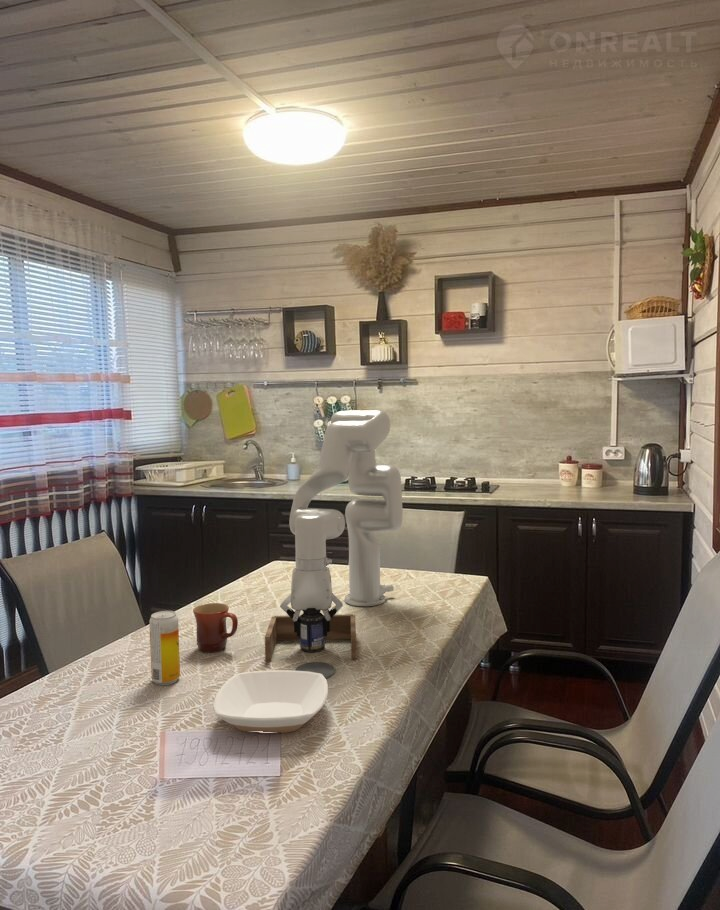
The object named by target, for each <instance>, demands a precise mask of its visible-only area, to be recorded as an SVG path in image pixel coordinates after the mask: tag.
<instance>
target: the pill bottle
mask: <svg viewBox="0 0 720 910" xmlns="http://www.w3.org/2000/svg"><path fill="white" fill-rule="evenodd" d="M301 612H303V613H302V614H301V616H300V639H299V641H300V645H299V646H300V649H301V651H303V652H305V653H307V652H308V653H316V652H320V651H323V650H324V649H325V647H326V639H325V636H324V616H323V615H324V614H323V612H322V610H316V608H307V609H306V610H301Z"/></svg>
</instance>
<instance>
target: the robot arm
mask: <svg viewBox="0 0 720 910" xmlns="http://www.w3.org/2000/svg"><path fill="white" fill-rule="evenodd" d="M390 420H391V419H390V416H389V415H388V414H387V412H386V411H383V410H380V409H379V410H374V409H373V410H371V409H370V410H365V409H364V410H362V409H361V410H357V409H356V410H353V409H351V410H350V409H349V410H339V411H336V412H334V413H332V415H331V418H330V424H328V425H327V427H326V430H325V431H324V438H323V440H322V441H323V443H322V445H321V446H322V447H321V452H320V455H319V460H318V465H317V468H316V470H315V472H313V473H312V474H311V475H310V476H308V477H307V478H306V479H305V481H304V482H302V484H301V485H300V486H299V487H298V489H297V491H296V493H295V495H294V497H293V500H292V505H291V509H290V512H289V529H290V532H291V533H292V534H293V535H295V536H294V539H295V542H294V545H295V547H294V548H295V549H294V550H295V567H294V568H293V570H292V575H291V583H290V584H291V586H290V587H291V588H290V594H289V595H288V596H287V597H286V598H285V599H284V600H283V601H282V602H281V603H280V606H279V607H280V608H281V610H283V612H285V613H286V614H287V616H290V617H291V618H292V619H293V621H294V633H297V637H299V636H300V617H299V615H300V614H301V612H302V610H306V609H307V608H316V610H321V612H322V614H323V615H324V616H325V618H324V636H327V632H330V619H331V618H332V617H333V616H334V615H337V613H338V611H340V609H341V608H343V606H344V604H343V603H344V602H345V603H346V604H348V605H351V606H354V607H355V606H356V607H374V606H378V605H381V604H384V603H385V602H386V595H384V594H386V593H387V592H388V593H389V592H394V589H395V587H394V585H393V584H389V585H386V584H381V552H380V551H381V546H380V542H379V539H378V537H377V536H376V534H375V533H374V532H390V533H391V532H393V533H394V532H397V531H399V530H400V529H401V527H402V524H403V519H404V515H403V509H404V508H403V491H402V489H403V488H402V477H401V473H400V470H399V469H398V467H396V466H394V465H392V464H378V463H377V462H376V449H378V447H380V445H381V444H382V443H383V442H384V441H385V440H386V439H387V438H388V436H389V433H390V429H391V421H390ZM347 479H348V480H347ZM346 480H347V481H348V487H349V490H350V492H351V493H352V494H353V495H356V496H365V497H383V499H375V498H358V499H357V498H356V499H353V500H351V501H349V502H348V503H347V504H346V506H345V510H344V511H345V513H344V514H345V516H344V514H343V513H342V512H341V511H340V510H338V509H333V508H316V507H308V506H309V504H310V503H311V501H312V500H313V499H314V498H315V496H317V495H319V494H320V493H321V492H323V491H325V490H328V489H330V488H332V487H334V486H337V485H340V484H342V483H343V482H345V481H346ZM345 527H347V537H348V564H349V565H348V569H349V571H348V574H349V579H348V580H349V585H348V586H349V593H347V594H346V595H345V596H344V602H342V601H341V600H340V599H339V597H337V596H336V595H335V594H334V593H333V588H332V587H333V585H332V575H331V570H330V568H329V567H328V566H329V565H332V564H333V559H332V558H328V557H327V547H326V546H327V543H326V542H327V540H332V539H336V538H338V537H340V536H341V535H342V534H343V532H344V530H345ZM332 603H334V604H335V605H334V607H332ZM289 605H290V606H291V607H289Z"/></svg>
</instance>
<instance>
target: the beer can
mask: <svg viewBox="0 0 720 910" xmlns="http://www.w3.org/2000/svg"><path fill="white" fill-rule="evenodd" d="M179 632H180V631H179V616H178V615H177V613H176V611H173V610H160V611H156V612H154V613H152V614H151V615H150V619H149V642H150V644H149V645H150V647H149V648H150V669H151V671H150V673H151V675H150V676H151V681H152V682H154V684H155V685H159V686H167V685H172V684H174V683H176V682H177V681H178V679H179V678H180V677H181V664H180V663H181V662H180V658H181V657H180V638H179V637H180V636H179V635H180V634H179Z"/></svg>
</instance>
